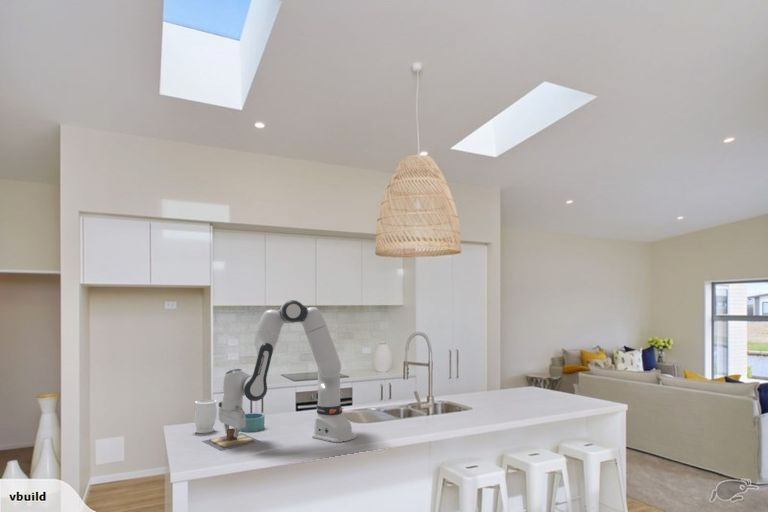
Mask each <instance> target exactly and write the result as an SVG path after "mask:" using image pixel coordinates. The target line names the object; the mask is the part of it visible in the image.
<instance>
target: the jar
mask: <svg viewBox="0 0 768 512" xmlns="http://www.w3.org/2000/svg"><path fill="white" fill-rule="evenodd" d="M217 402H218V401H217V399H213V398H212V399H211V398H207V399H199V400H195V401H194V405H195V408H194V423H195V428H196V431H195V433H197V434H207V433H211V432H214V430H215V429H214V426H215V425H216V424H215V423H216V418H217V405H216V404H217Z"/></svg>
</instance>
